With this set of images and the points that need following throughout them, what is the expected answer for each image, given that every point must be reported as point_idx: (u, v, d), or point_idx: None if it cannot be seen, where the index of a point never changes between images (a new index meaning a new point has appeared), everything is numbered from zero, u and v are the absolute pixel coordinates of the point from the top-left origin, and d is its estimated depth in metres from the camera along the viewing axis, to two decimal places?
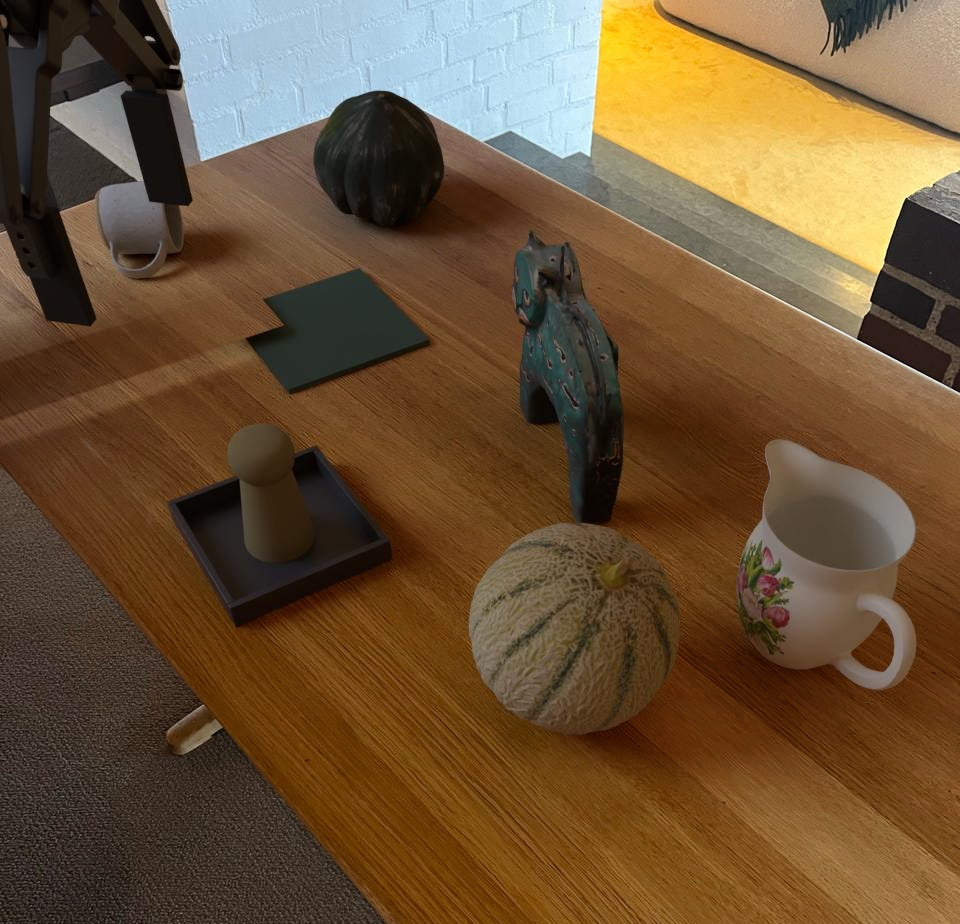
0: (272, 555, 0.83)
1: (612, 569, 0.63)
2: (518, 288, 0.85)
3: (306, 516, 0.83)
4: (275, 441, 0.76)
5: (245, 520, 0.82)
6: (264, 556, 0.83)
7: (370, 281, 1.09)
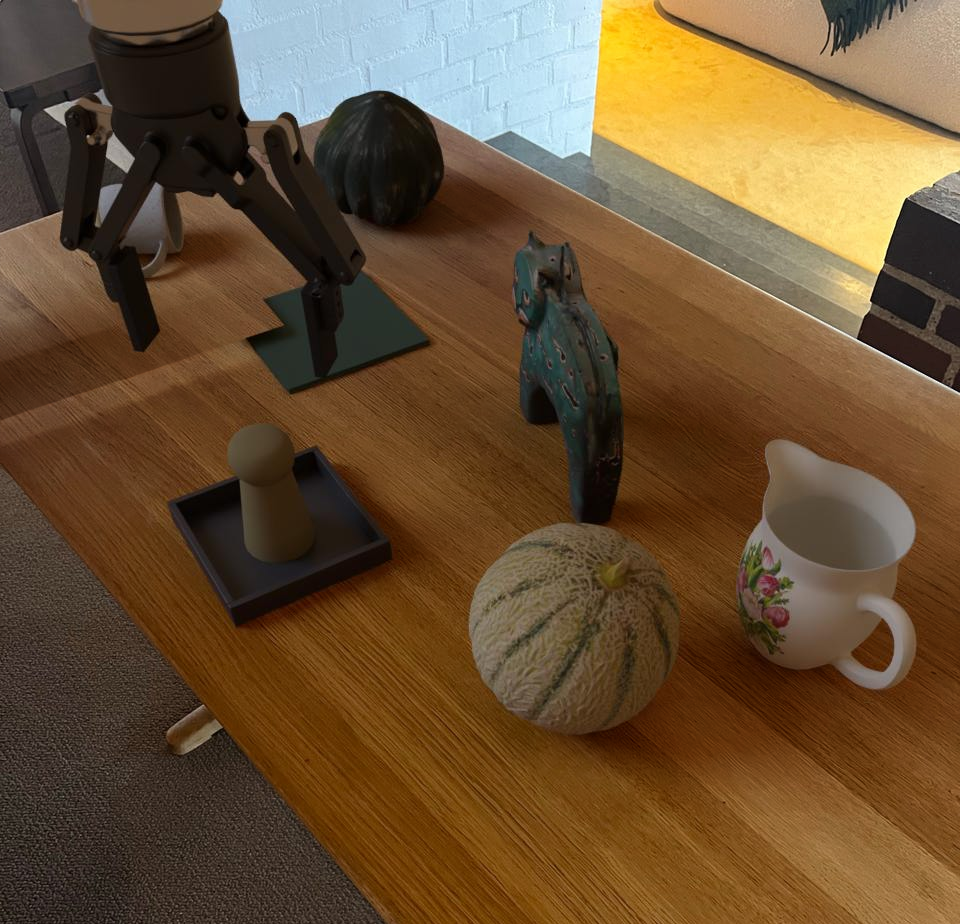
0: (272, 555, 0.83)
1: (612, 569, 0.63)
2: (518, 288, 0.85)
3: (306, 516, 0.83)
4: (275, 441, 0.76)
5: (245, 520, 0.82)
6: (264, 556, 0.83)
7: (370, 281, 1.09)
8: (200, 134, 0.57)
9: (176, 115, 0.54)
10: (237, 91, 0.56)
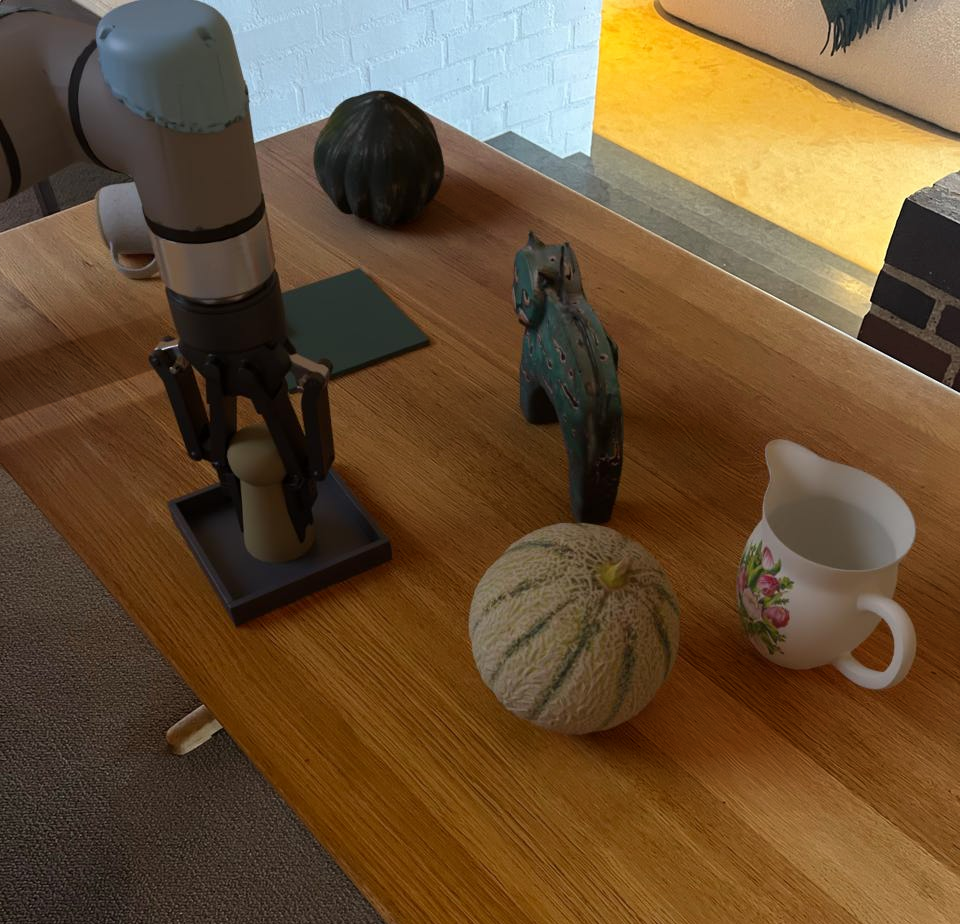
0: (272, 555, 0.83)
1: (612, 569, 0.63)
2: (518, 288, 0.85)
3: None
4: None
5: (245, 520, 0.82)
6: (264, 556, 0.83)
7: (370, 281, 1.09)
8: (255, 351, 0.69)
9: (236, 352, 0.66)
10: (284, 325, 0.68)
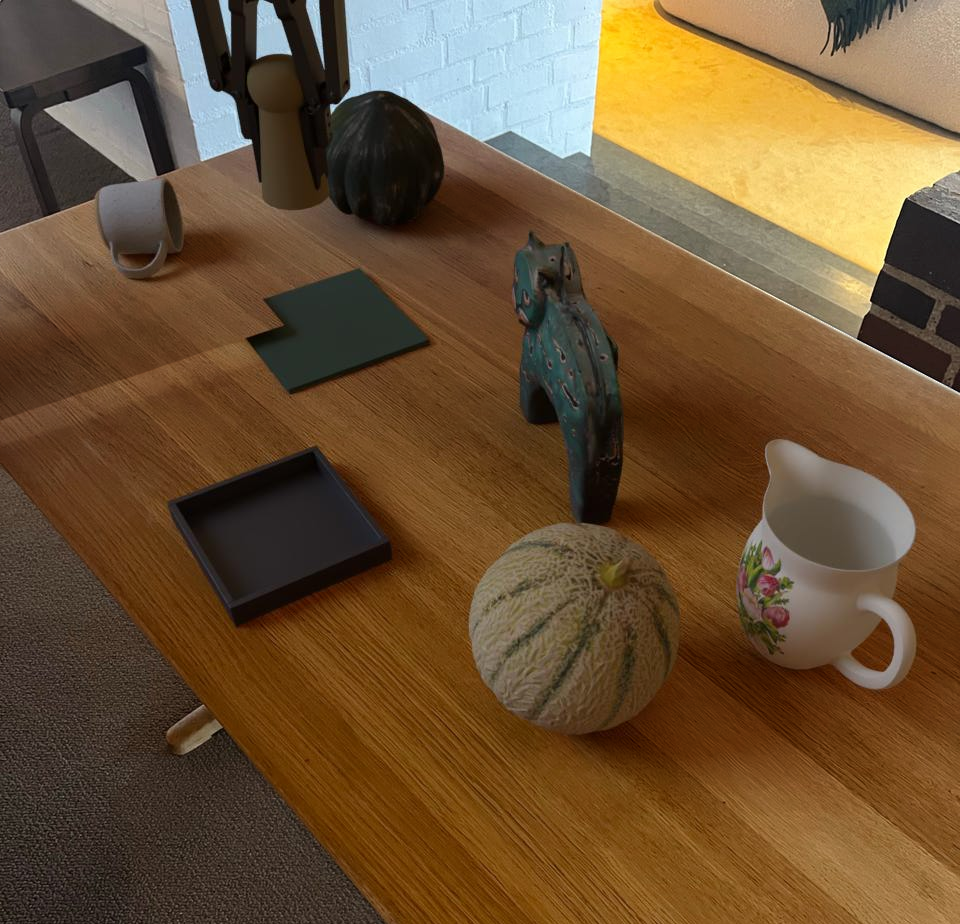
0: (289, 200, 0.86)
1: (612, 569, 0.63)
2: (518, 288, 0.85)
3: None
4: (293, 63, 0.80)
5: (263, 162, 0.85)
6: (281, 202, 0.86)
7: (370, 281, 1.09)
8: None
9: None
10: None
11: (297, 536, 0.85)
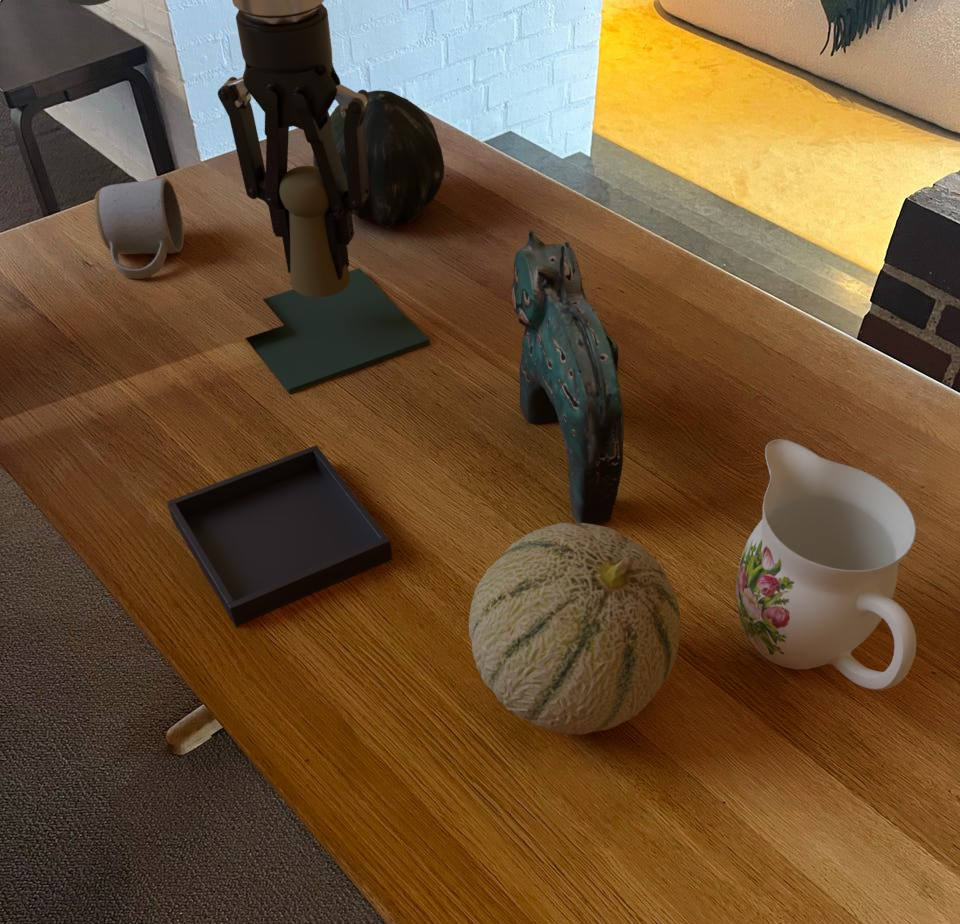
0: (315, 289, 0.98)
1: (612, 569, 0.63)
2: (518, 288, 0.85)
3: None
4: (319, 176, 0.92)
5: (292, 257, 0.97)
6: (308, 290, 0.98)
7: (370, 281, 1.09)
8: (307, 78, 0.84)
9: (293, 71, 0.82)
10: (331, 56, 0.84)
11: (297, 536, 0.85)
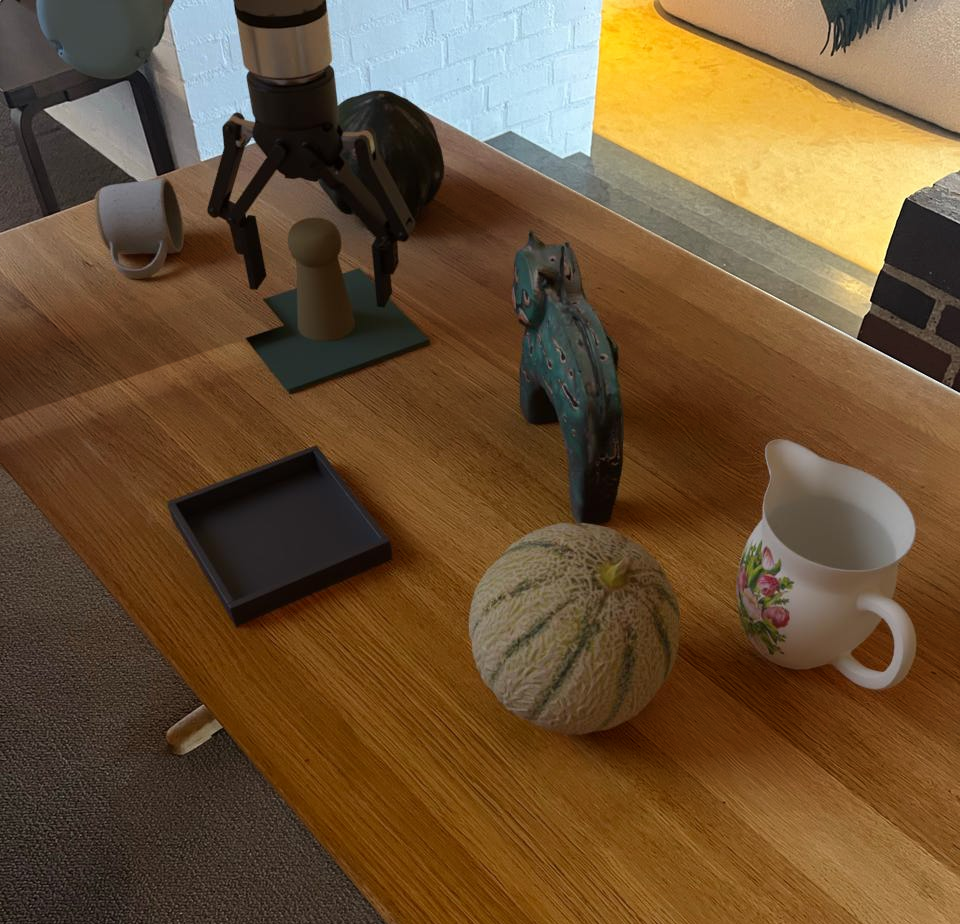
0: (321, 334, 1.02)
1: (612, 569, 0.63)
2: (518, 288, 0.85)
3: (348, 302, 1.02)
4: (326, 228, 0.96)
5: (299, 303, 1.01)
6: (314, 335, 1.02)
7: (370, 281, 1.09)
8: (312, 140, 0.88)
9: (301, 129, 0.85)
10: (337, 113, 0.87)
11: (297, 536, 0.85)
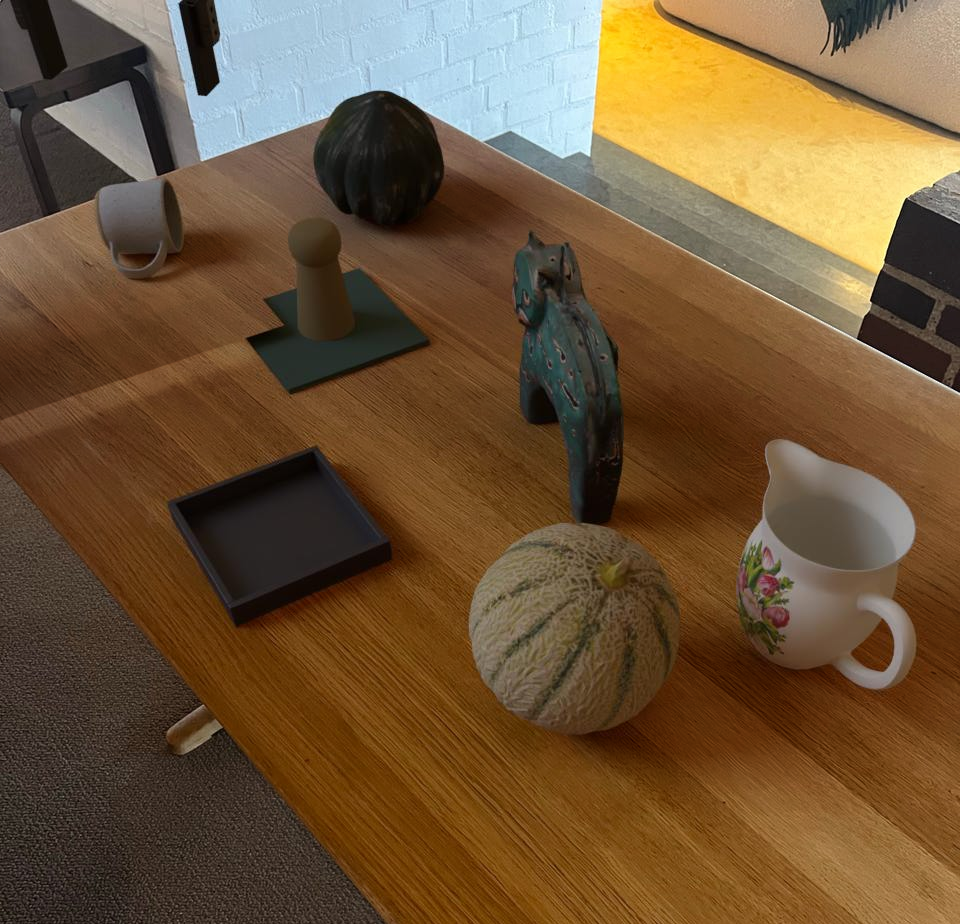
0: (321, 334, 1.02)
1: (612, 569, 0.63)
2: (518, 288, 0.85)
3: (348, 302, 1.02)
4: (326, 228, 0.96)
5: (299, 303, 1.01)
6: (314, 335, 1.02)
7: (370, 281, 1.09)
8: None
9: None
10: None
11: (297, 536, 0.85)
